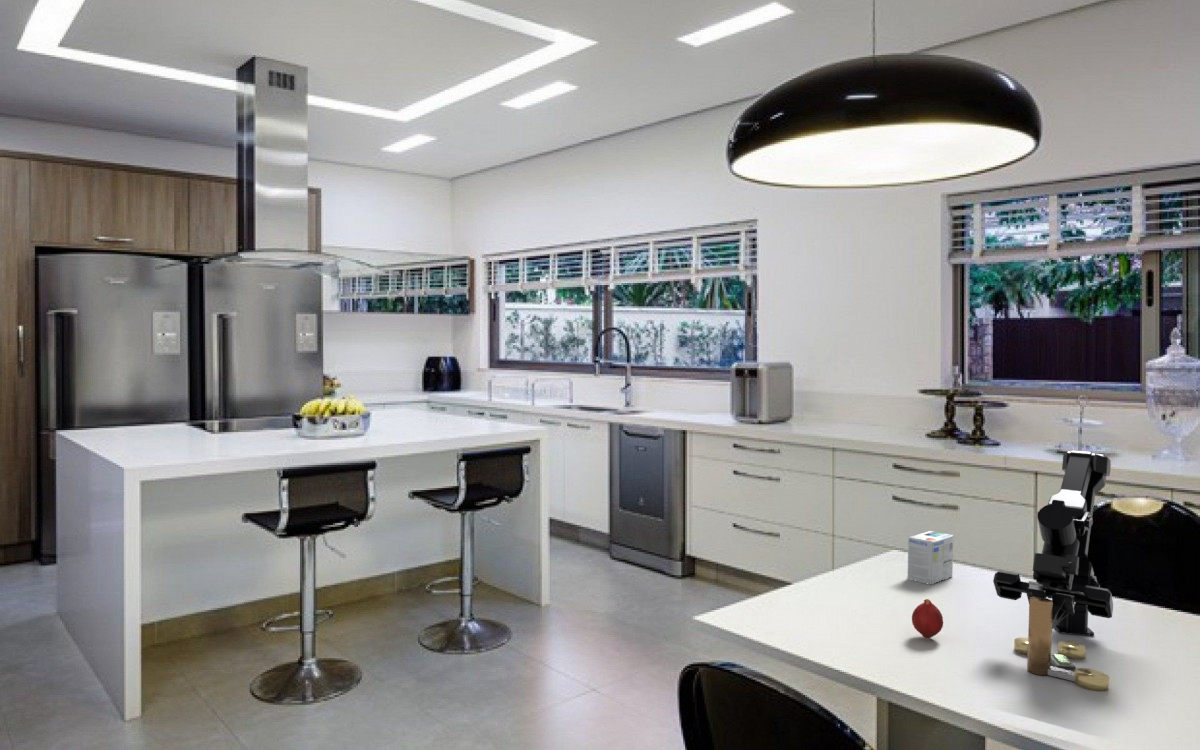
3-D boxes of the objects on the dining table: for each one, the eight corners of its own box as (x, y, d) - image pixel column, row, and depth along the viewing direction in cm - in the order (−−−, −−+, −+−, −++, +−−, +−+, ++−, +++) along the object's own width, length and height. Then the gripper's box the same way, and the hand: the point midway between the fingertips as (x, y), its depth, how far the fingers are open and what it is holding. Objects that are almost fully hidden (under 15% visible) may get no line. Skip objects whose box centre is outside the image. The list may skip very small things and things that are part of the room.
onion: (917, 630, 166) (918, 592, 166) (946, 637, 162) (947, 598, 162) (907, 638, 162) (908, 599, 161) (937, 646, 158) (938, 605, 157)
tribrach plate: (986, 647, 157) (987, 632, 157) (1101, 657, 153) (1101, 641, 153) (1016, 692, 138) (1016, 674, 138) (1148, 704, 133) (1149, 686, 133)
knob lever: (1110, 683, 138) (1113, 609, 138) (1106, 693, 134) (1109, 617, 134) (1030, 664, 146) (1032, 594, 145) (1024, 673, 142) (1026, 601, 141)
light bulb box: (927, 571, 208) (929, 529, 208) (953, 577, 203) (954, 534, 203) (906, 579, 201) (907, 536, 201) (932, 585, 196) (933, 541, 196)
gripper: (997, 527, 154) (979, 599, 145) (1113, 544, 142) (1101, 623, 134) (1006, 560, 160) (989, 631, 152) (1117, 579, 148) (1106, 656, 140)
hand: (1043, 634), depth 144 cm, fingers closed
